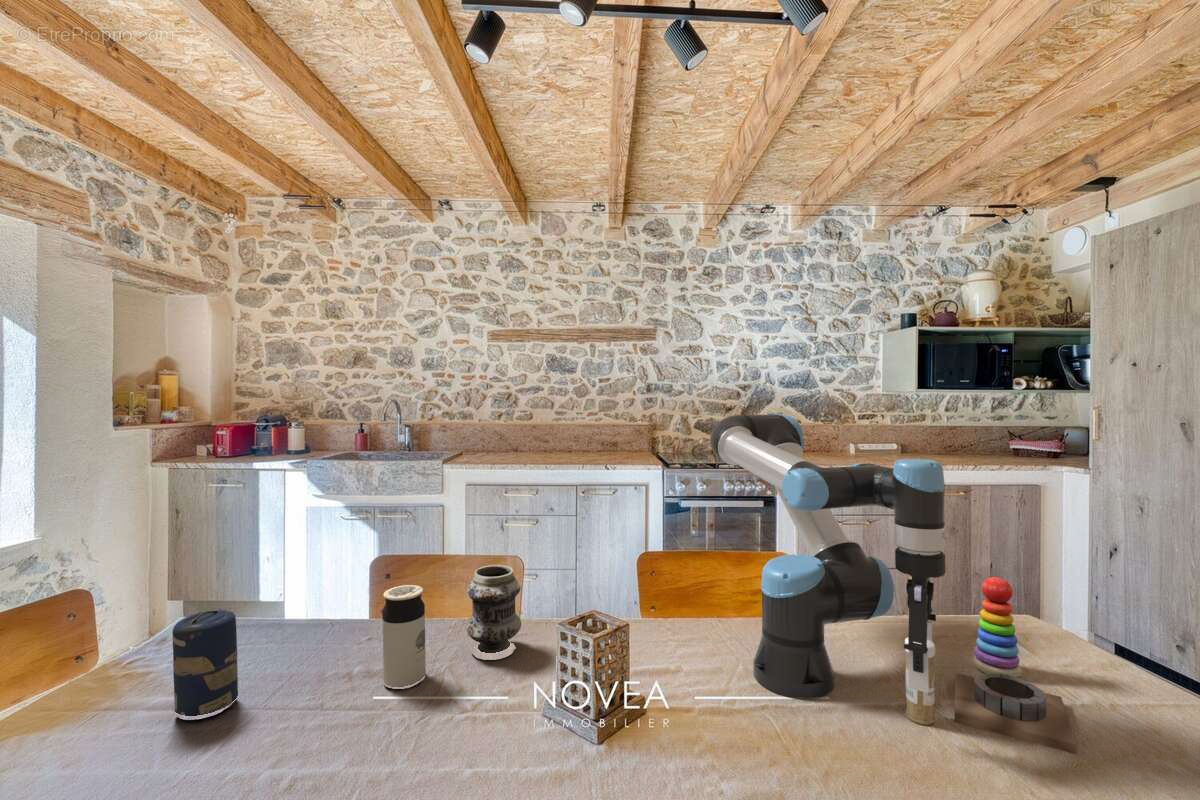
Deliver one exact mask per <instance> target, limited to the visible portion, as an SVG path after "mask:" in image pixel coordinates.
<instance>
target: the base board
mask: <svg viewBox="0 0 1200 800" xmlns="http://www.w3.org/2000/svg"><path fill="white" fill-rule="evenodd" d="M954 675H955V676H954V677H955V678H954V681H955V682H954V723H955V722H956V723H958V724H963V725H966V726H971V727H974V728H978V729H983V730H984V731H985V730H986V731H990V732H992V733H997V734H1000V735H1004V736H1007V737H1010V738H1011V737H1012V738H1015V739H1019V740H1023V741H1026V742H1029V743H1034V744H1037V745H1042V746H1045V747H1050V748H1052V749H1053V748H1054V749H1057V750H1061V751H1064V752H1068V753H1072V754H1075V755H1077V754H1078V752H1077V750H1078V745H1077V741H1076V739H1075V735H1074V732H1073V729H1072V725H1071V722H1070V720H1069V717H1068V714H1067V710H1066V707H1065V705H1064V701H1063V698H1062V696H1059V695H1055V694H1051V693H1047V692H1044V693H1045V696H1046V718H1044V719H1042V720H1040V721H1037V722H1033V721H1021V720H1020V721H1018V720H1014V719H1010V718H1006V717H1003V716H1002V715H1001V716H1000V715H998V714H996V713H993V712H991V711H989V710H987V709H985V708H984V707H982V706H981V705H980V704H979V703H978V702H977V701H976V700H975V679H974V677H975V676H971V675H967V674H963V673H958V672H955V674H954ZM1002 695H1004V694H1002ZM1005 696H1008V695H1005ZM1009 697H1013V696H1009ZM1013 698H1016V697H1013Z"/></svg>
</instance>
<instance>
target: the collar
mask: <svg viewBox="0 0 1200 800" xmlns="http://www.w3.org/2000/svg"><path fill="white" fill-rule="evenodd" d="M973 677H974V679H975V700H976V701H977V702H978V703H979V704H980V705H981V706H982V707H984V708H985V709H987V710H989V711H991V712H993V713H996V714H998V715H1000V716H1001V715H1002V716H1003V717H1006V718H1010V719H1014V720H1018V721H1020V720H1021V721H1033V722H1037V721H1040V720H1042V719H1044V718H1046V696H1045V693H1046V692H1045V691H1043V690H1042V689H1041V688H1039V687H1038V686H1036V685H1035V684H1033V683H1032V682H1029V681H1026V680H1024V679H1022V678H1019V677H1016V678H1015V677H1013V676H1008V675H1004V674H998V673H984V672H982V673H979V674H977V675H975V676H973ZM1002 694H1004V695H1002ZM1005 695H1008V696H1005ZM1009 696H1013V697H1016V698H1013V697H1009Z"/></svg>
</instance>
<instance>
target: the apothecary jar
mask: <svg viewBox="0 0 1200 800" xmlns="http://www.w3.org/2000/svg"><path fill="white" fill-rule="evenodd" d="M473 574H474V576H473V579H472V580H471V581H470V582H469V583H468V584H467V587H466V594H467V596H468V598H470V599H471V600H472V605H471V606H472V610H471V617H470V618H468V620H467V622H466V625H465V626H466V627H465V629H466V633H467V635H468V636H469V637H470V638H471V640H474V641H475V642H477V643H480V644H479V645H478V649H479V650H480V651H481V652H485V653H496V652H500V651H503V650H505V649H507V648H508V647H509V646H510V642H509V641H510V640H511V639H513V638H514V637H515V636H516V635H517V634H518V633H519V631H520V630H521V628H522V627H521V626H522V621H521V618H520V616H519V615H518V614H517V613H516V597H517V596H518V595H519V594H520V591H521V588H522V587H521V582H520V581H519V580H518V578H517V577H516V576H515V573H514V569H513V568H512V567H511V566H508V565H505V564H504V565H502V564H491V565H490V564H489V565H484V566H482V567H479V568H477V569H475V571H474V573H473ZM508 640H509V641H508Z"/></svg>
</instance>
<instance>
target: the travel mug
mask: <svg viewBox="0 0 1200 800" xmlns="http://www.w3.org/2000/svg"><path fill="white" fill-rule="evenodd" d="M423 593H424V588H423V587H421V586H420V585H415V584H404V585H399V586H394V587H392V588H389V589H387V590H385V591H384V593H383V598H384V599H385V604H384V606H383V608H382V611H381V613H382V614H381V615H382V670H383V672H382V673H383V675H382V677H383V681H384V683H385V684H386V685H388V686H391V687H404V686H408V685H412V684H414V683H416V682H418V681H420V680H421V679H422V678H423V677H424V676H425V674H426V675H427V673H426V672H427V671H426V669H427V668H426V608H425V607H426V606H425V602H424V601H423V599H422V595H423Z"/></svg>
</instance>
